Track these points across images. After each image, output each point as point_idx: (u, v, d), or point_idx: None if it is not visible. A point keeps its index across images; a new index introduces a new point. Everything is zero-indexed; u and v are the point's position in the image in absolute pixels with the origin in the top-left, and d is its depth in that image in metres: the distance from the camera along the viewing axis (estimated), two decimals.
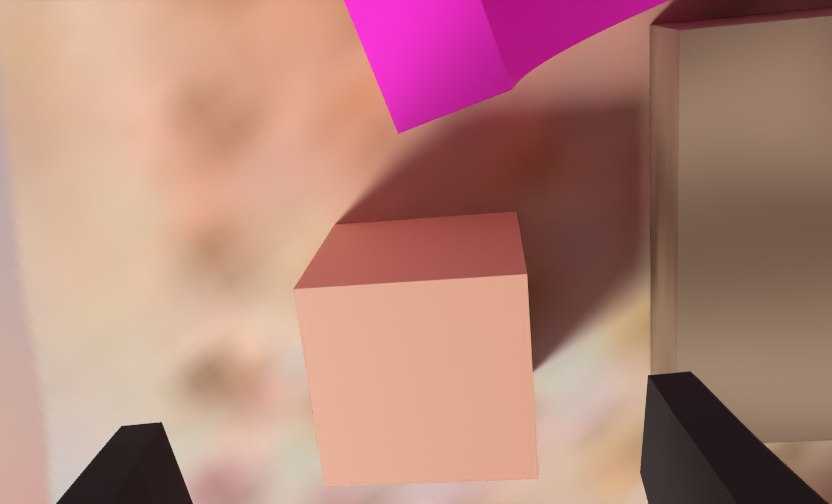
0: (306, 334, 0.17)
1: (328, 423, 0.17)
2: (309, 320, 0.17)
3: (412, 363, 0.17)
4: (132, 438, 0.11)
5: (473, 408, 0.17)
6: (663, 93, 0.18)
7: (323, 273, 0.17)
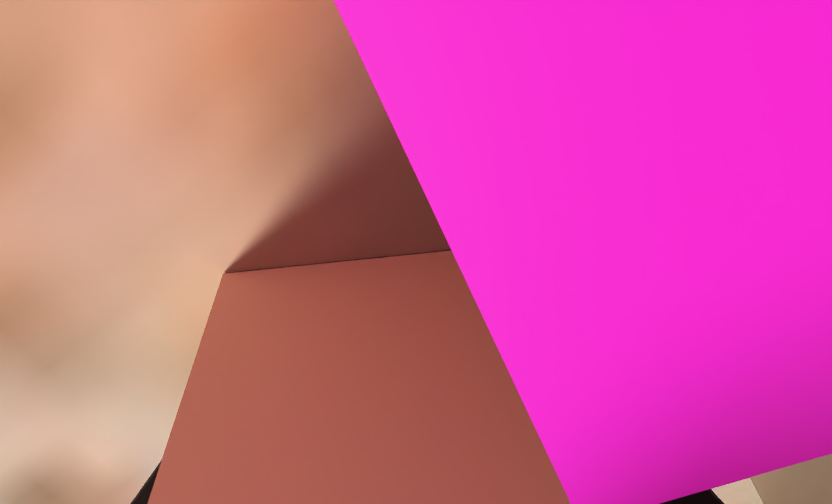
0: None
1: None
2: None
3: None
4: None
5: None
6: None
7: (196, 487, 0.08)
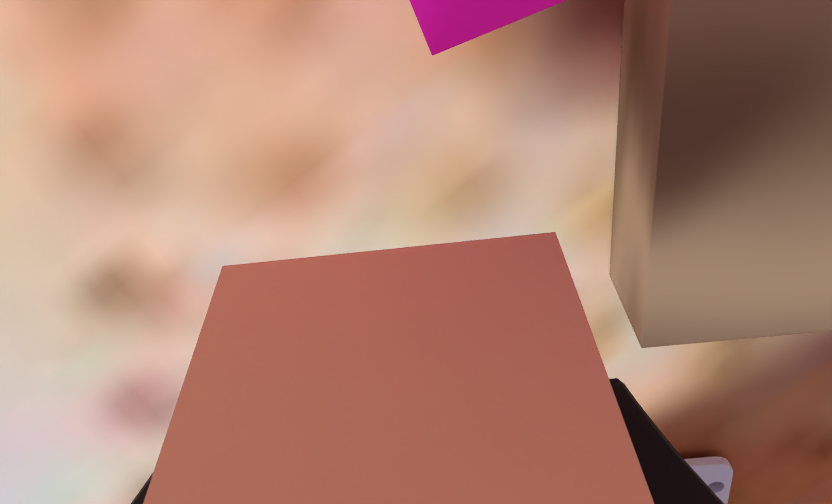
0: None
1: None
2: None
3: None
4: None
5: None
6: None
7: (197, 475, 0.08)
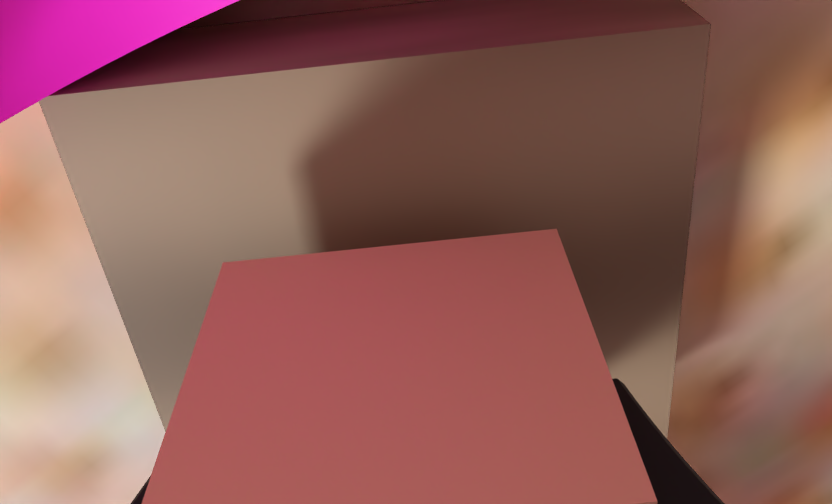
0: None
1: None
2: None
3: None
4: None
5: None
6: None
7: (197, 470, 0.08)
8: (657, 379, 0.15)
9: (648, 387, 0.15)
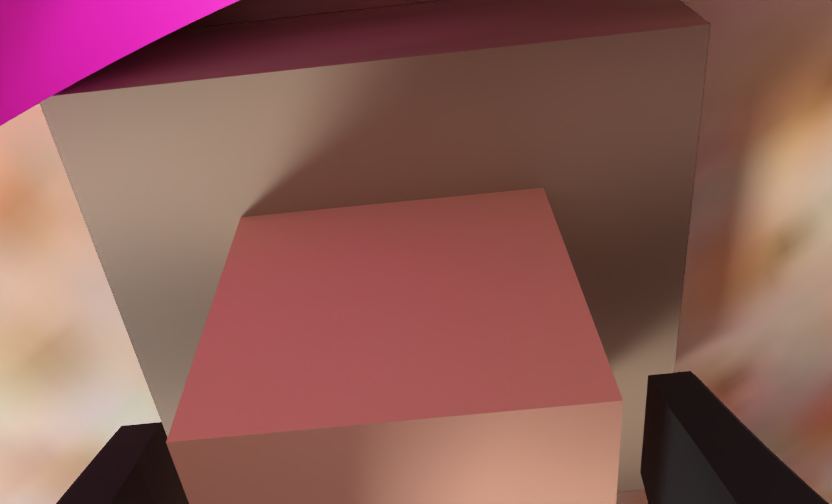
0: None
1: None
2: (204, 487, 0.09)
3: None
4: (132, 438, 0.11)
5: None
6: None
7: (224, 381, 0.09)
8: None
9: None
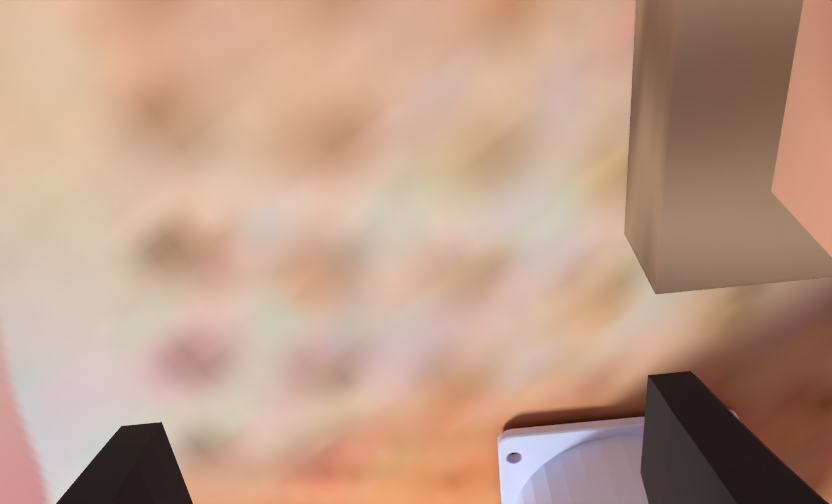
0: None
1: None
2: None
3: None
4: (132, 438, 0.11)
5: None
6: None
7: None
8: None
9: None
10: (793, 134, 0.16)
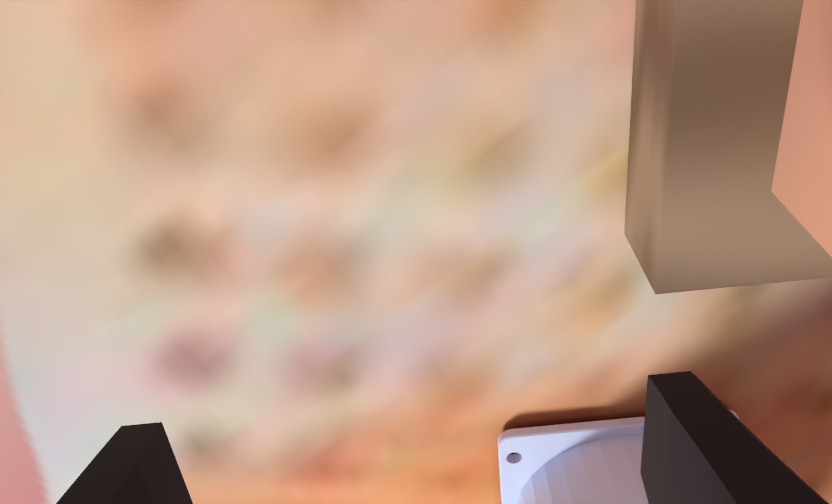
0: None
1: None
2: None
3: None
4: (133, 438, 0.11)
5: None
6: None
7: None
8: None
9: None
10: (793, 134, 0.16)
